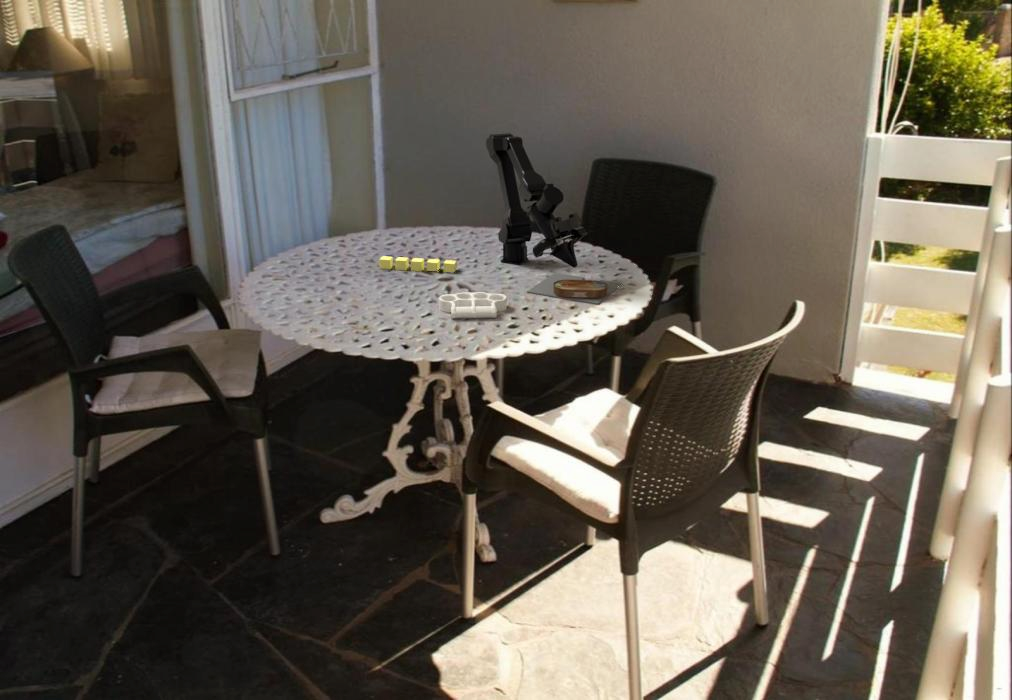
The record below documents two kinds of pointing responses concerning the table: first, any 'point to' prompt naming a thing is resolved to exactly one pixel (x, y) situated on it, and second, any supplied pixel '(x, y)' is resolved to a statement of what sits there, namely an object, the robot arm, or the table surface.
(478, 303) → the white brass knuckles
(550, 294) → the mat
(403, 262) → the yellow cube row
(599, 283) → the tin
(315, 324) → the table surface
